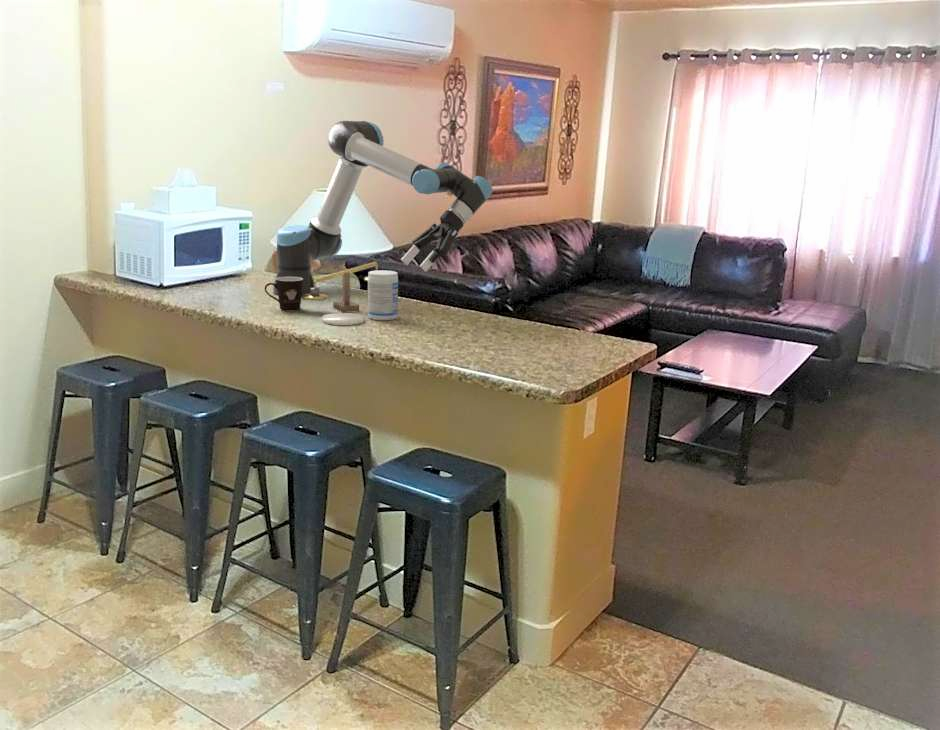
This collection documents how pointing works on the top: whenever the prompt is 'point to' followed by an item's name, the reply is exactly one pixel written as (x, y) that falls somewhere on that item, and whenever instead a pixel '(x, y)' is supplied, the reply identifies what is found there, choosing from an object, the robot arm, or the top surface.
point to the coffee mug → (288, 292)
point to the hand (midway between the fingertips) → (413, 265)
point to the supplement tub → (382, 295)
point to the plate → (342, 319)
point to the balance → (346, 303)
